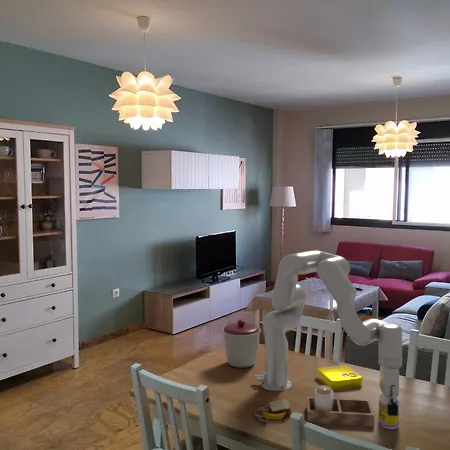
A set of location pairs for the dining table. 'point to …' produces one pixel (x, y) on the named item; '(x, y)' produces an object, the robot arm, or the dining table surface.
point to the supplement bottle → (384, 418)
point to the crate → (342, 412)
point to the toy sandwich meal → (274, 411)
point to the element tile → (339, 377)
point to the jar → (323, 398)
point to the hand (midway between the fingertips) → (389, 408)
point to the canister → (241, 343)
